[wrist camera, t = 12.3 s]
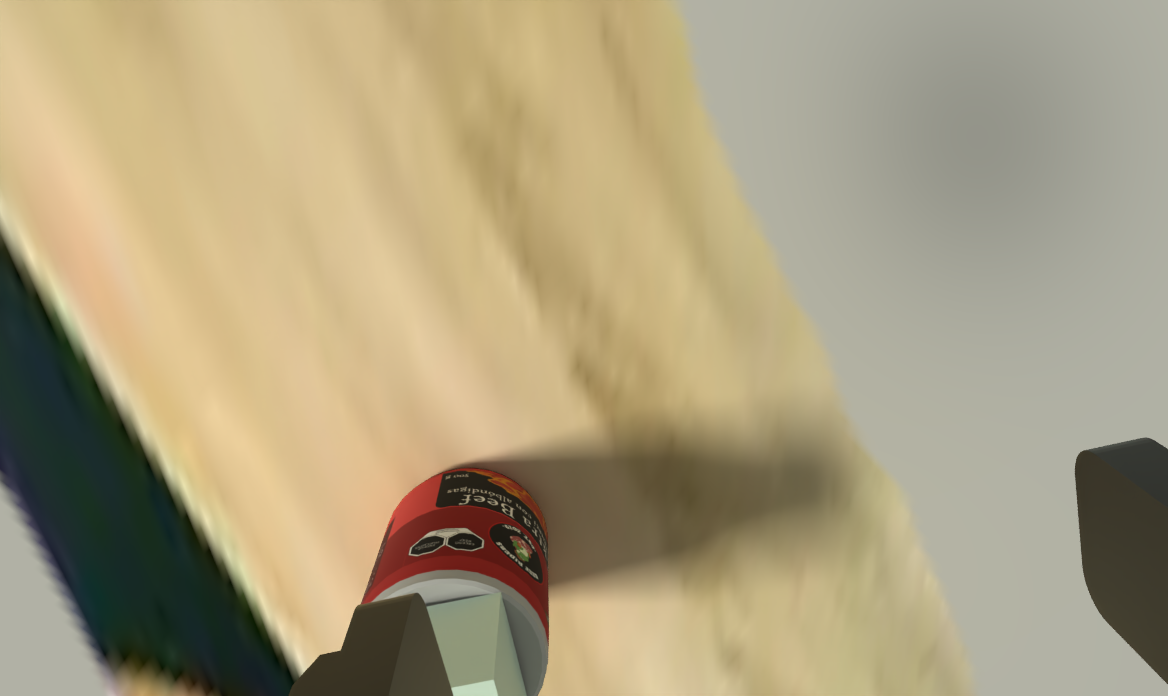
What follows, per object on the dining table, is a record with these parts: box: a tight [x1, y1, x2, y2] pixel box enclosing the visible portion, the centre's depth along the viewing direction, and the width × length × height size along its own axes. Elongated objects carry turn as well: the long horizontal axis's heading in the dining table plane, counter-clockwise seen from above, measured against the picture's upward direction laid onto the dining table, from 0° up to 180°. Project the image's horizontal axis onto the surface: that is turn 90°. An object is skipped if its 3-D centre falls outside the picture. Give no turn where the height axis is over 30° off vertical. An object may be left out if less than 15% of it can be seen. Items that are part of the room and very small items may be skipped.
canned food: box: [361, 468, 549, 696], centre depth 44 cm, size 8×8×11 cm
